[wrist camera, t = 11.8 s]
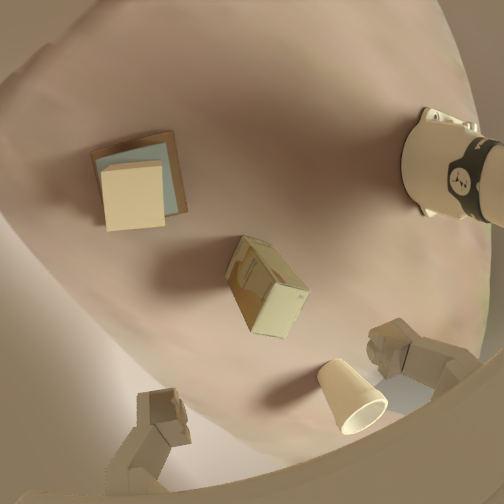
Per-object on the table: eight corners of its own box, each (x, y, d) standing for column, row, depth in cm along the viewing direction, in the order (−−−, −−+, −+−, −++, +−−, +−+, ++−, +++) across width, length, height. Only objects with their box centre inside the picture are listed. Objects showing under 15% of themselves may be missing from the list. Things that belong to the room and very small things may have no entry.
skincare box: (241, 233, 38) (276, 278, 28) (271, 243, 40) (313, 288, 29) (222, 278, 40) (249, 334, 29) (251, 285, 42) (285, 340, 31)
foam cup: (359, 353, 55) (396, 396, 44) (337, 386, 58) (368, 430, 46) (324, 351, 52) (361, 401, 40) (301, 387, 54) (331, 437, 43)
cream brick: (161, 159, 27) (162, 165, 23) (163, 210, 29) (165, 226, 25) (110, 164, 26) (100, 171, 21) (114, 215, 28) (107, 231, 23)
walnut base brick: (171, 130, 32) (173, 130, 29) (185, 205, 35) (188, 211, 33) (96, 150, 30) (90, 152, 27) (113, 223, 34) (110, 231, 31)
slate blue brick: (165, 141, 29) (165, 142, 26) (176, 205, 32) (178, 212, 29) (101, 157, 28) (95, 160, 25) (115, 219, 31) (111, 228, 28)
